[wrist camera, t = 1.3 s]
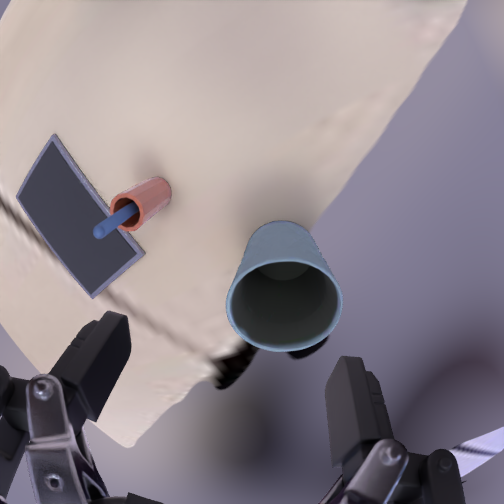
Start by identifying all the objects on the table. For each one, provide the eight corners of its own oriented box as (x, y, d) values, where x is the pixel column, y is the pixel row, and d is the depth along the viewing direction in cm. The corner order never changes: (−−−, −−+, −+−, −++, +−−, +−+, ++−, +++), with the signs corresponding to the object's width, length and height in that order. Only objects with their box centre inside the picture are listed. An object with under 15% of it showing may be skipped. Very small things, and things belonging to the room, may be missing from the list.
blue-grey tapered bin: (225, 257, 36) (204, 316, 25) (276, 194, 32) (276, 233, 21) (287, 300, 38) (289, 367, 27) (341, 246, 34) (366, 303, 23)
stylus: (148, 193, 33) (88, 232, 21) (155, 186, 32) (95, 224, 21) (154, 200, 33) (96, 243, 21) (161, 194, 33) (104, 235, 21)
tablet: (18, 195, 35) (14, 197, 34) (55, 133, 30) (51, 134, 29) (94, 297, 41) (91, 299, 40) (145, 253, 37) (143, 255, 36)
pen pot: (136, 190, 33) (103, 209, 26) (158, 170, 32) (126, 185, 25) (155, 213, 34) (126, 238, 27) (177, 195, 33) (151, 216, 26)
